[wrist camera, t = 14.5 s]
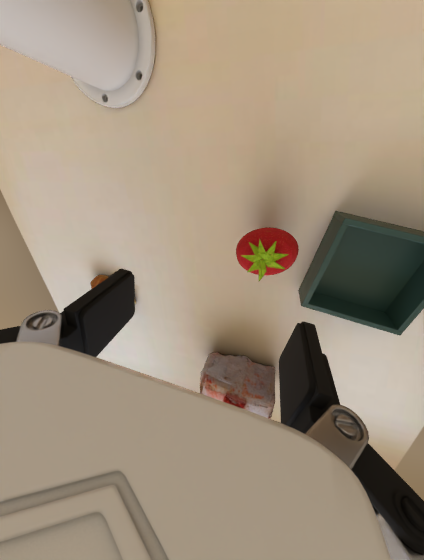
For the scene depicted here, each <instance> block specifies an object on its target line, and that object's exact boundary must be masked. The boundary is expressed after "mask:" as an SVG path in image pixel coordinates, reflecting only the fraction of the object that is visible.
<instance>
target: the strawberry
mask: <svg viewBox="0 0 424 560" xmlns="http://www.w3.org/2000/svg"><path fill="white" fill-rule="evenodd" d="M298 250H299V249H298V244H297V241H296V240H295V238H294V237H293V236H292V235H291V234H289V233H288V232H286V231H284V230H281V229H277V228H260V229H256V230H253V231H251V232H249V233H247V234H246V235H245V236H243V237H242V239H241V240H240V241H239V243H238V245H237V248H236V255H237V259H238V262H239V264H240V265H241V266H242V267H243V268H244V269H246V270H247V271H248V272H251V273H254V274H258V275H259V281H260V280H261V278H262V277H263V276H264V275H273V274H278V273H280V272H283V271H285V270H286V269H288V268H289V267H290V266H292V264H293V263H294V262H295V260H296V257H297V255H298Z"/></svg>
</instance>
